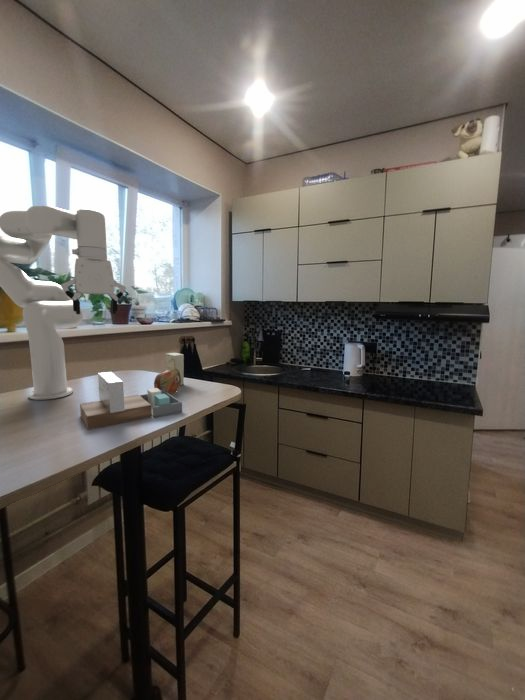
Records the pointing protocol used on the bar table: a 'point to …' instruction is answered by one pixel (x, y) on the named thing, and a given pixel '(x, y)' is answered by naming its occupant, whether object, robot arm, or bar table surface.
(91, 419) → the board
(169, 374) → the tin
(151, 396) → the tile white
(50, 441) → the bar table surface
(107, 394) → the grey rectangular block
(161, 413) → the box
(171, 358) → the skincare box
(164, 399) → the teal block
